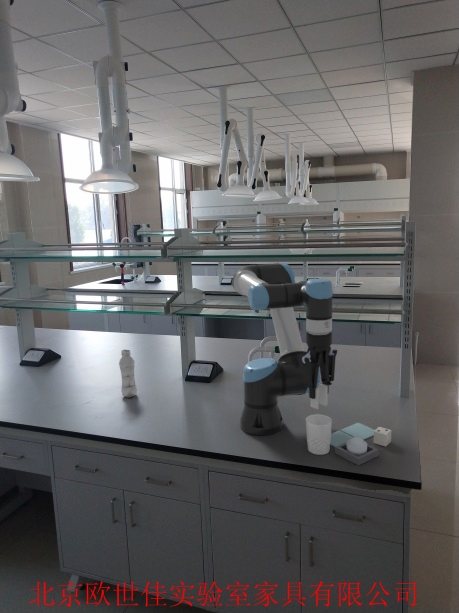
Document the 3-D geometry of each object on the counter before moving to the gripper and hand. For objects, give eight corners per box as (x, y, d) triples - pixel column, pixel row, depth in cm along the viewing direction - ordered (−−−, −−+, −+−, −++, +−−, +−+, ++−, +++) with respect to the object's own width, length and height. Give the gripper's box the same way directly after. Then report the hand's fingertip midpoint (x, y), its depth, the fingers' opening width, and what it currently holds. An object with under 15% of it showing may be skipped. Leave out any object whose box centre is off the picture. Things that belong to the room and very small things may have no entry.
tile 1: (319, 439, 145) (319, 438, 145) (339, 431, 150) (339, 430, 150) (340, 450, 138) (340, 449, 137) (360, 441, 142) (360, 440, 142)
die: (373, 442, 141) (373, 430, 140) (378, 438, 144) (379, 426, 143) (385, 446, 139) (386, 434, 138) (390, 441, 141) (391, 429, 141)
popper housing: (335, 452, 136) (335, 446, 136) (355, 443, 141) (355, 438, 141) (358, 465, 129) (358, 459, 128) (378, 455, 134) (378, 449, 133)
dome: (342, 451, 136) (342, 437, 135) (355, 445, 139) (355, 431, 138) (357, 459, 131) (358, 445, 130) (371, 453, 134) (371, 438, 133)
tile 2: (340, 430, 150) (340, 429, 150) (358, 423, 155) (358, 422, 155) (361, 441, 143) (361, 440, 143) (379, 432, 147) (379, 432, 147)
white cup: (328, 442, 142) (328, 413, 141) (334, 455, 135) (334, 424, 133) (303, 444, 142) (303, 414, 140) (308, 456, 135) (308, 426, 133)
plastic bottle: (122, 400, 184) (117, 353, 180) (121, 394, 190) (117, 349, 186) (138, 398, 185) (134, 352, 181) (136, 392, 192) (133, 347, 188)
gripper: (308, 339, 124) (308, 417, 128) (347, 329, 133) (346, 403, 137) (289, 334, 130) (290, 409, 135) (328, 325, 139) (328, 395, 143)
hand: (319, 405), depth 136 cm, fingers open, 3 cm apart
